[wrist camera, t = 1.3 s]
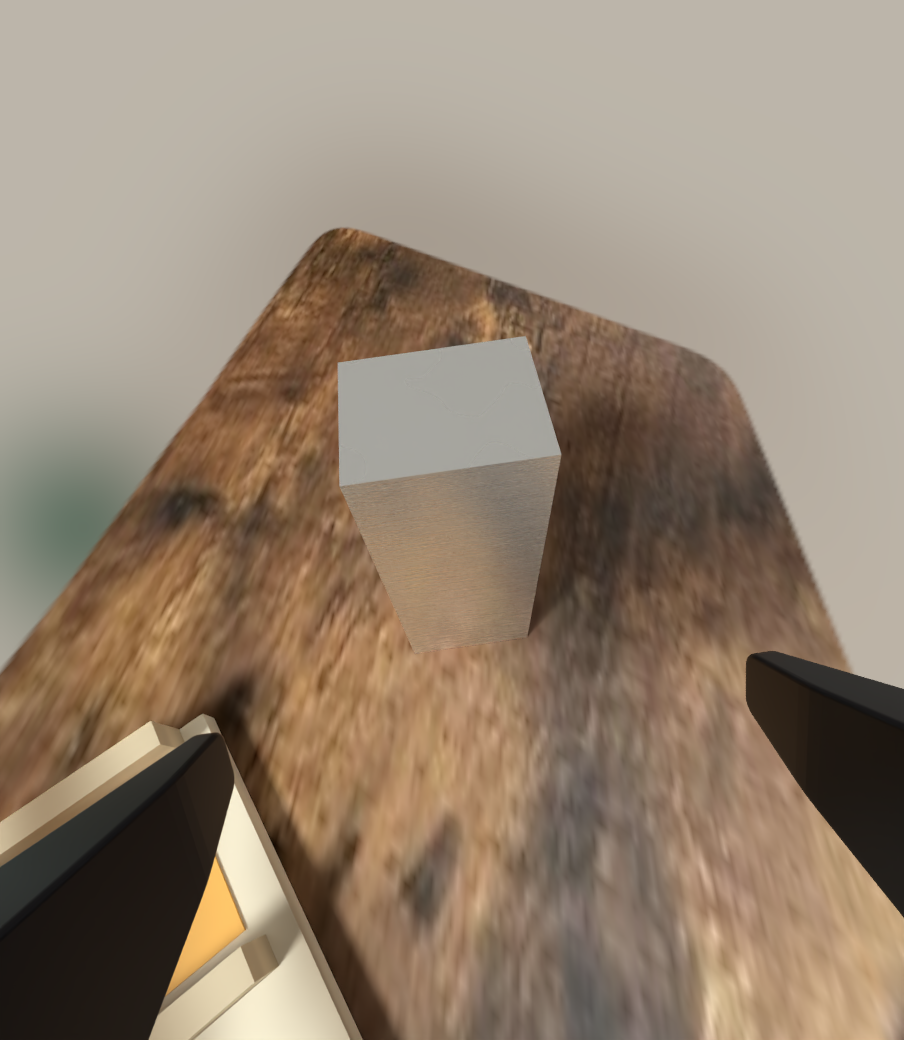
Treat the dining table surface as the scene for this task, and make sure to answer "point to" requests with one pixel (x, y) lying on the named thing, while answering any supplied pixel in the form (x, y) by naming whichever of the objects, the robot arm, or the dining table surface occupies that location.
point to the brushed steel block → (451, 485)
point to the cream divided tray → (216, 913)
